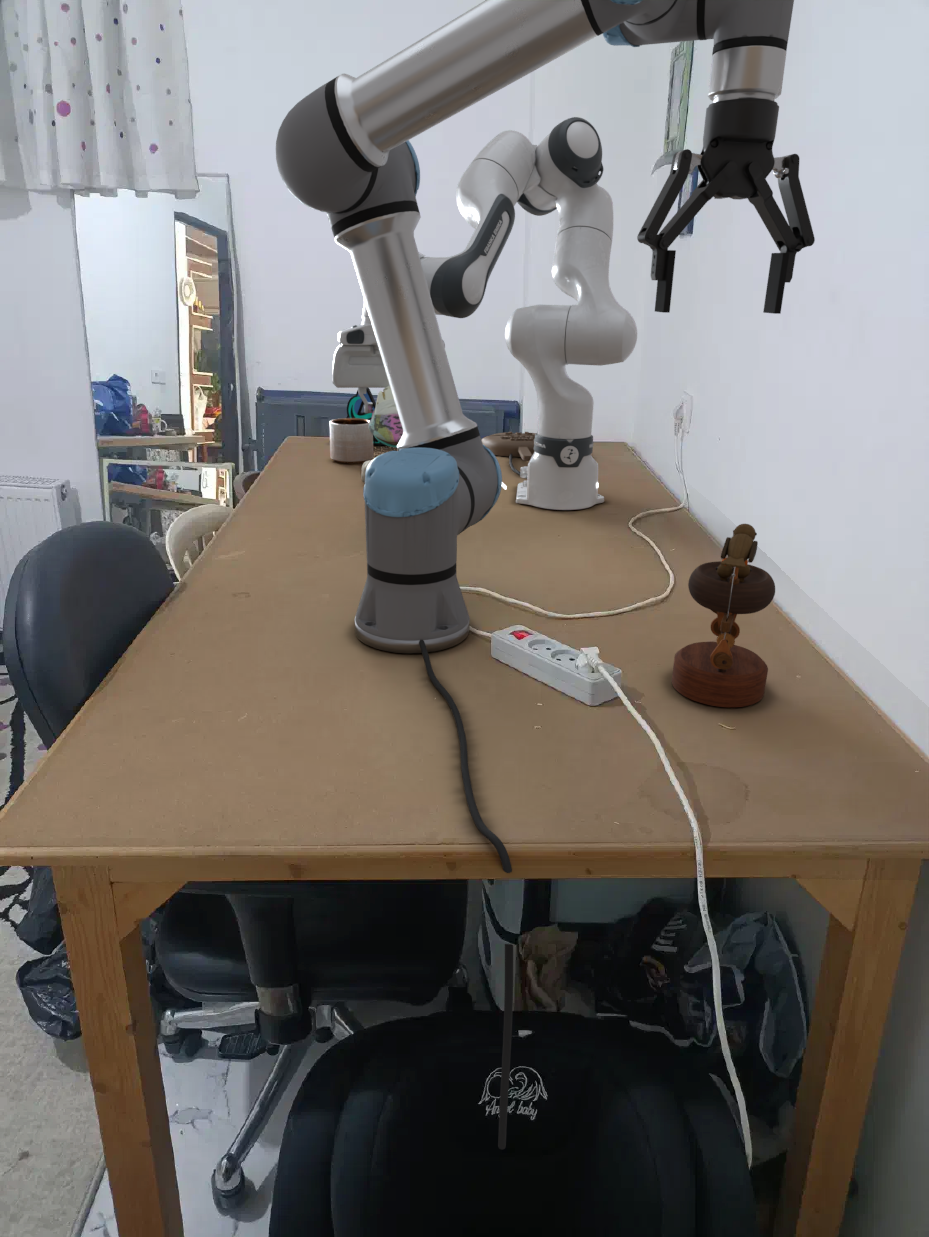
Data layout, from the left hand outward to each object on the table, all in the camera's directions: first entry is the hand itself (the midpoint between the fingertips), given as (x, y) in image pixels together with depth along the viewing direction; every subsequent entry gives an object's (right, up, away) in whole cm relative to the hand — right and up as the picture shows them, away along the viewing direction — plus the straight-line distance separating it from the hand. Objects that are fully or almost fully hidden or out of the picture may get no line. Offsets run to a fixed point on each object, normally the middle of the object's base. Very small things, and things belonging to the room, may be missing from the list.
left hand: (717, 313), depth 98 cm
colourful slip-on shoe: (-42, -4, +50) cm, 66 cm away
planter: (-58, +4, +116) cm, 129 cm away
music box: (0, -43, +1) cm, 44 cm away
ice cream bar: (-14, +7, +124) cm, 125 cm away
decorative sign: (-57, +13, +136) cm, 148 cm away
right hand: (-44, +2, +57) cm, 72 cm away
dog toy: (-43, -5, +93) cm, 103 cm away
